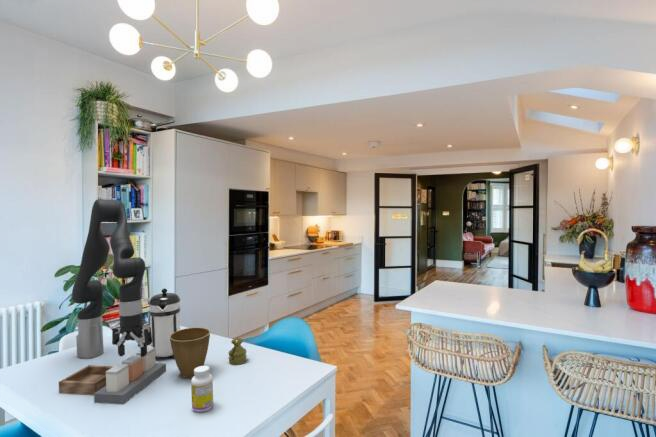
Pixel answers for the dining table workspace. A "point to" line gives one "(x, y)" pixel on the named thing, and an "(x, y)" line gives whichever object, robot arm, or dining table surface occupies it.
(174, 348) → the plant pot
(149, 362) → the block
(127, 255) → the robot arm
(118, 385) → the block
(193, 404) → the supplement bottle
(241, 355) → the olive green lumpy piece
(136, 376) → the block
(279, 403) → the dining table surface
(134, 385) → the frame
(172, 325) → the coffee press
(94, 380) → the tray
